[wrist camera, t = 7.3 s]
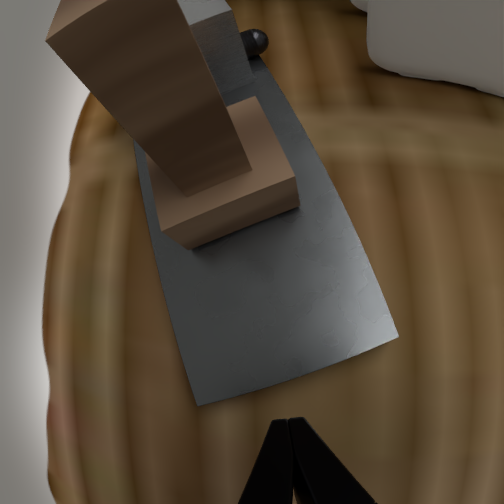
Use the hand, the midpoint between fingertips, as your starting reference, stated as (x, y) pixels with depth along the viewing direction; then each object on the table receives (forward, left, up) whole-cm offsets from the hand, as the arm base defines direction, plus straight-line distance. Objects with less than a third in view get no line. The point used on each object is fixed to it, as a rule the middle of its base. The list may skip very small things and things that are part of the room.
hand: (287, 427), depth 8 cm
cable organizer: (+20, -18, -8) cm, 28 cm away
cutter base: (+13, +1, -8) cm, 15 cm away
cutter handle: (+14, +1, -6) cm, 15 cm away
